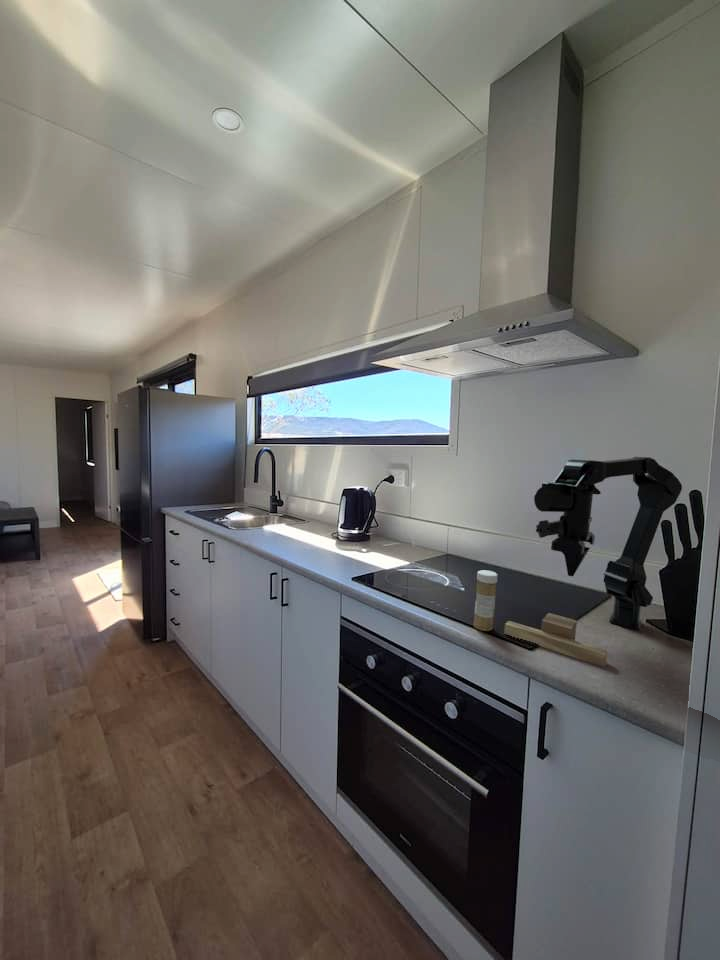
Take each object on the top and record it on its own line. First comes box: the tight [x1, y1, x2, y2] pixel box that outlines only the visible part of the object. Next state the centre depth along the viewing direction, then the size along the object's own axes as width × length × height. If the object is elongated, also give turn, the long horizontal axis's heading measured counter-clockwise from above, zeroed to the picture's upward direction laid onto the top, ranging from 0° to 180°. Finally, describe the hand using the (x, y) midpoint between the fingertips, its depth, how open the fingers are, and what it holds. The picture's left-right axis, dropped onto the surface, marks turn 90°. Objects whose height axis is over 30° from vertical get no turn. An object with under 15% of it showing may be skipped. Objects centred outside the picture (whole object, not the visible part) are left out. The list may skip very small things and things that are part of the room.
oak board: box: [503, 620, 608, 668], centre depth 87 cm, size 2×20×2 cm, turn 52°
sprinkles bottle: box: [473, 569, 498, 632], centre depth 95 cm, size 5×5×14 cm
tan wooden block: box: [540, 612, 578, 641], centre depth 90 cm, size 6×6×5 cm
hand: (570, 575), depth 97 cm, fingers closed
